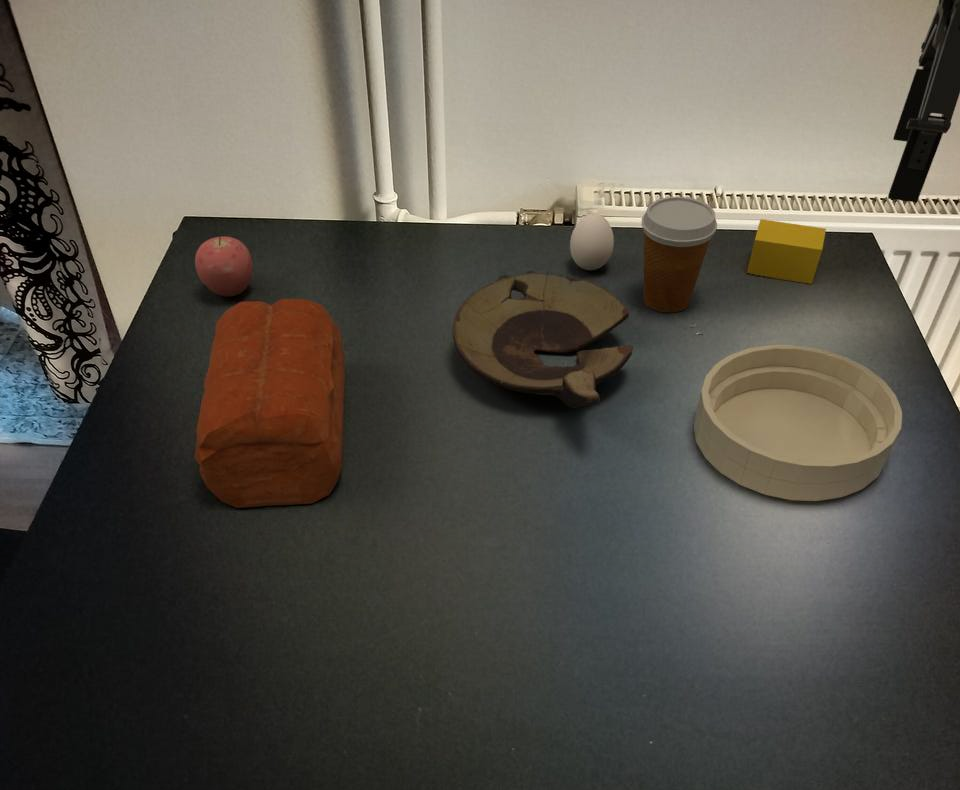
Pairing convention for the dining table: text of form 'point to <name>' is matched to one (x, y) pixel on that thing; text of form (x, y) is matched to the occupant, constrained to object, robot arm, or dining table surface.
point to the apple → (224, 265)
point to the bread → (273, 405)
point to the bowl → (796, 422)
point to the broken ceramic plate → (541, 335)
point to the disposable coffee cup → (674, 250)
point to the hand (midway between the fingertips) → (904, 168)
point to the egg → (592, 242)
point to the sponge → (786, 251)
